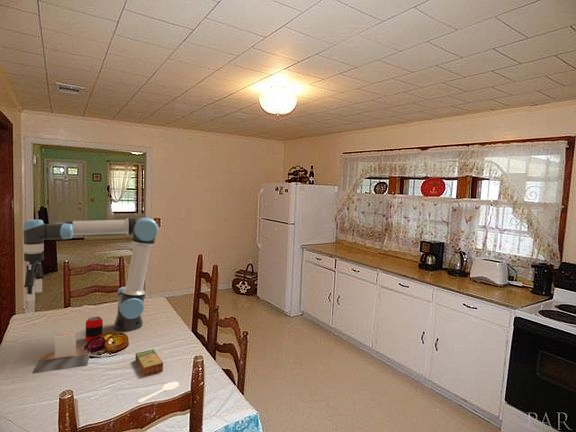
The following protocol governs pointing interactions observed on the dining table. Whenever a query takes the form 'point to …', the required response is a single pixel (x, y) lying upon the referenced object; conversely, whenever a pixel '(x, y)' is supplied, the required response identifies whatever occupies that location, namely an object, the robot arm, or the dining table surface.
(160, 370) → the carton
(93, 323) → the soda can
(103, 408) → the dining table surface
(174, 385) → the spoon
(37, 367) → the board
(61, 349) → the tile
